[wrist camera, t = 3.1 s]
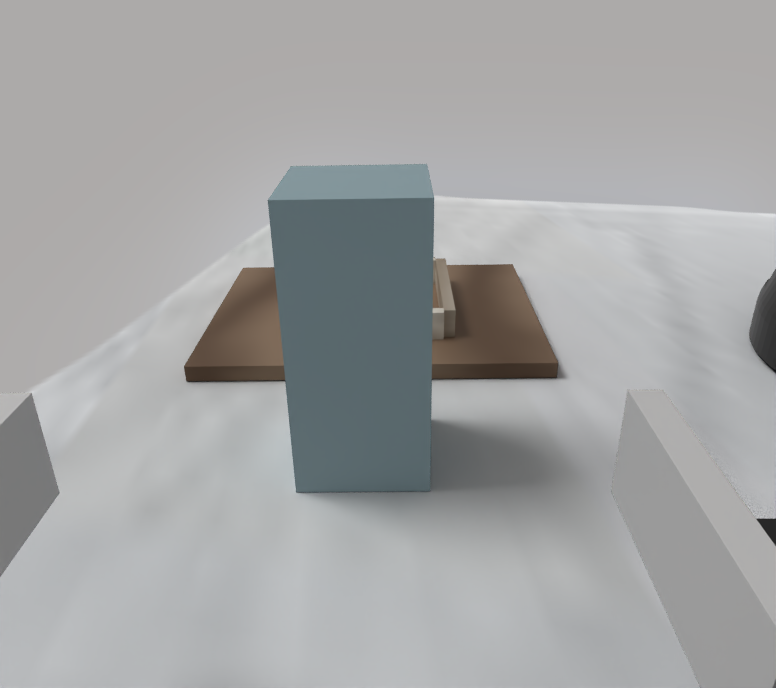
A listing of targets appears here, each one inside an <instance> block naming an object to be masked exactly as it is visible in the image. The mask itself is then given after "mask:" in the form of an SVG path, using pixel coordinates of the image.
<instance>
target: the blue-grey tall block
mask: <svg viewBox="0 0 776 688" xmlns="http://www.w3.org/2000/svg"><path fill="white" fill-rule="evenodd" d="M268 206H269V217H270V227H271V238H272V248H273V258H274V269H275V279H276V289H277V300H278V310H279V320H280V331H281V341H282V351H283V362H284V372H285V382H286V393H287V403H288V413H289V424H290V434H291V444H292V455H293V465H294V475H295V485H296V492H404V491H430V466H431V391H432V316H433V242H434V195H433V190H432V185H431V180H430V176H429V171H428V166H427V164H409V165H408V164H407V165H406V164H405V165H348V166H347V165H346V166H345V165H342V166H291V167H290V169H289V170H288V171H287V173H286V175H285V176H284V177H283V179H282V180H281V182H280V183H279V185H278V186H277V188H276V189H275V191H274V192H273V193H272V195H271V196H270V198H269V199H268Z"/></svg>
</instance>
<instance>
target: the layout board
mask: <svg viewBox="0 0 776 688" xmlns="http://www.w3.org/2000/svg"><path fill="white" fill-rule="evenodd" d="M184 369H185V375H186V381H249V380H285V372H284V362H283V351H282V341H281V331H280V320H279V310H278V300H277V289H276V279H275V269H274V267H271V268H243V269H242V271H241V272H240V274H239V276H238V277H237V279H236V281H235V282H234V284H233V286H232V287H231V289H230V291H229V292H228V294H227V296H226V297H225V299H224V301H223V302H222V304H221V306H220V307H219V309H218V311H217V312H216V314H215V316H214V317H213V319H212V321H211V322H210V324H209V326H208V327H207V329H206V331H205V332H204V334H203V336H202V337H201V339H200V341H199V342H198V344H197V346H196V347H195V349H194V351H193V353H192V354H191V356H190V358H189V359H188V361H187V363H186V364H185V366H184ZM557 369H558V361H557V359H556V357H555V355H554V353H553V351H552V348H551V346H550V344H549V342H548V340H547V338H546V336H545V333H544V331H543V329H542V327H541V325H540V323H539V320H538V318H537V316H536V314H535V312H534V310H533V307H532V305H531V303H530V301H529V299H528V297H527V295H526V292H525V290H524V288H523V286H522V284H521V282H520V279H519V277H518V275H517V273H516V271H515V269H514V266H513V264H504V265H446V260H445V259H435V257H433V316H432V379H449V378H549V377H557Z"/></svg>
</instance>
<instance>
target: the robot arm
mask: <svg viewBox="0 0 776 688" xmlns="http://www.w3.org/2000/svg"><path fill="white" fill-rule="evenodd" d="M749 336H750V341H751V343H752V346H753V347H754V349H755V351H756V352H757V353H758V355H759V356H760V357H761V358H762V359H763V360H764V361H765V362H766V363H767V364H768V365H769V366H771V367H772V368H773V369H774V370H776V269H775V271H774V272H773V274H772V276H771V278H770V279H768V280H767V282H766V283H765V284H764V286H763V288H762V289H761V291H760V294H759V296H758V299H757V302H756V306H755V310H754V314H753V319H752V323H751V327H750V332H749ZM611 492H612V495H613V497H614V499H615V501H616V503H617V506H618V508H619V510H620V512H621V514H622V517H623V519H624V521H625V523H626V525H627V528H628V530H629V532H630V534H631V536H632V539H633V541H634V543H635V545H636V547H637V550H638V552H639V554H640V556H641V558H642V561H643V563H644V565H645V567H646V569H647V572H648V574H649V576H650V578H651V580H652V582H653V585H654V587H655V589H656V591H657V593H658V596H659V598H660V600H661V602H662V604H663V607H664V609H665V611H666V613H667V615H668V618H669V620H670V622H671V624H672V626H673V629H674V631H675V633H676V635H677V637H678V640H679V642H680V644H681V646H682V648H683V651H684V653H685V655H686V657H687V659H688V662H689V664H690V666H691V668H692V670H693V673H694V675H695V677H696V679H697V681H698V684H699V686H700V688H776V519H756V518H755V517H754V515H753V514H752V513H751V511H750V510H749V508H748V507H747V506H746V504H745V503H744V501H743V500H742V499H741V497H740V496H739V494H738V493H737V492H736V490H735V489H734V488H733V486H732V485H731V483H730V482H729V481H728V479H727V478H726V476H725V475H724V474H723V472H722V471H721V469H720V468H719V467H718V465H717V464H716V463H715V461H714V460H713V458H712V457H711V456H710V454H709V453H708V451H707V450H706V449H705V447H704V446H703V444H702V443H701V442H700V440H699V439H698V438H697V436H696V435H695V433H694V432H693V431H692V429H691V428H690V426H689V425H688V424H687V422H686V421H685V419H684V418H683V417H682V415H681V414H680V412H679V411H678V410H677V408H676V407H675V406H674V404H673V403H672V401H671V400H670V399H669V397H668V396H667V394H666V393H665V392H664V390H628V392H627V398H626V404H625V410H624V416H623V422H622V428H621V434H620V440H619V446H618V452H617V458H616V464H615V470H614V476H613V482H612V488H611ZM58 494H59V489H58V486H57V482H56V478H55V475H54V471H53V468H52V464H51V461H50V457H49V454H48V450H47V446H46V443H45V439H44V436H43V432H42V429H41V425H40V421H39V418H38V414H37V411H36V407H35V404H34V400H33V397H32V393H0V577H1V575H2V574H3V572H4V571H5V570H6V568H7V567H8V565H9V564H10V562H11V561H12V560H13V558H14V557H15V555H16V554H17V553H18V551H19V550H20V548H21V547H22V545H23V544H24V543H25V541H26V540H27V538H28V537H29V536H30V534H31V533H32V531H33V530H34V528H35V527H36V526H37V524H38V523H39V521H40V520H41V519H42V517H43V516H44V514H45V513H46V511H47V510H48V509H49V507H50V506H51V504H52V503H53V502H54V500H55V499H56V497H57V496H58Z"/></svg>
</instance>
